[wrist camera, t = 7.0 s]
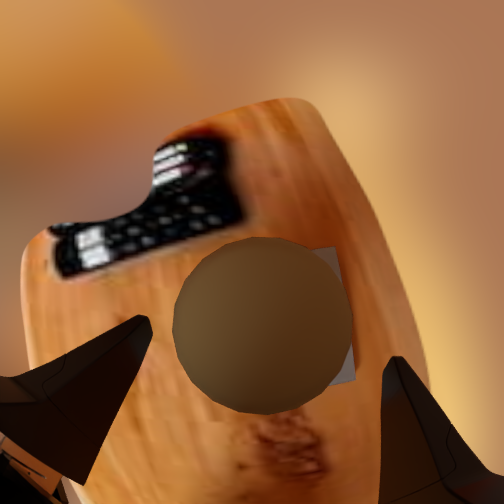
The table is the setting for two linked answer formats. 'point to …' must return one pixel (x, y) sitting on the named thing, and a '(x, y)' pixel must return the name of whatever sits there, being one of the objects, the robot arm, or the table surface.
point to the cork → (262, 325)
